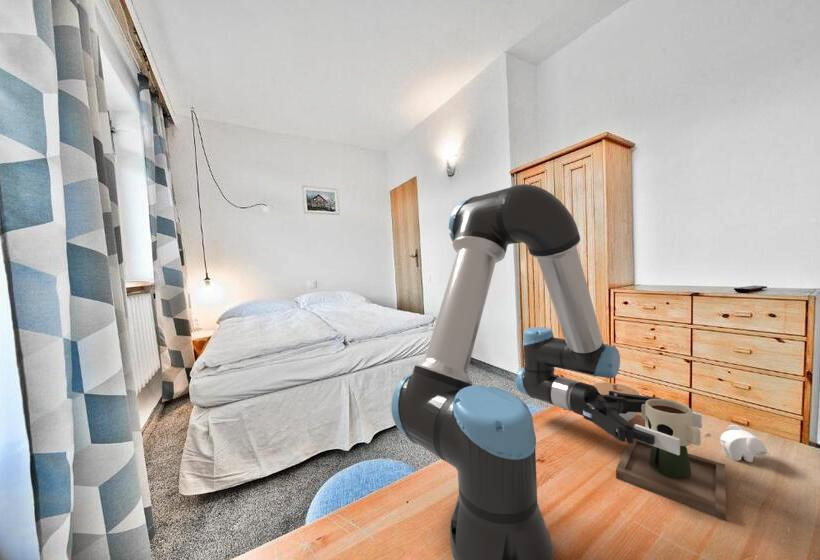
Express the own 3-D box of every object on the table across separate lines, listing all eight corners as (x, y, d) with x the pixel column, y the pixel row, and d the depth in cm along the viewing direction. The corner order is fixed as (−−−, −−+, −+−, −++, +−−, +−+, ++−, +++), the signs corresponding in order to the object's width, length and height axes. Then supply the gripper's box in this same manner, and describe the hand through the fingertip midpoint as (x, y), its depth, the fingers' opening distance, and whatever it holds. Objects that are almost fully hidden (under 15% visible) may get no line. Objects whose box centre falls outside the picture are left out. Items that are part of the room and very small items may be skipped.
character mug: (629, 456, 64) (627, 397, 63) (657, 451, 65) (655, 392, 64) (685, 494, 53) (682, 422, 53) (717, 486, 54) (715, 416, 54)
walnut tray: (726, 521, 48) (726, 510, 48) (616, 478, 59) (615, 469, 59) (725, 473, 59) (724, 464, 59) (631, 444, 69) (631, 436, 69)
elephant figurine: (781, 471, 58) (780, 442, 58) (728, 465, 61) (727, 437, 61) (754, 451, 65) (753, 424, 64) (707, 446, 67) (707, 420, 67)
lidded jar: (650, 427, 76) (649, 391, 76) (608, 429, 76) (607, 393, 76) (621, 407, 87) (620, 375, 86) (584, 409, 87) (583, 377, 87)
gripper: (600, 397, 81) (709, 429, 63) (547, 429, 67) (668, 482, 49) (599, 369, 80) (708, 394, 63) (546, 396, 66) (667, 438, 49)
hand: (691, 433), depth 56 cm, fingers open, 13 cm apart
